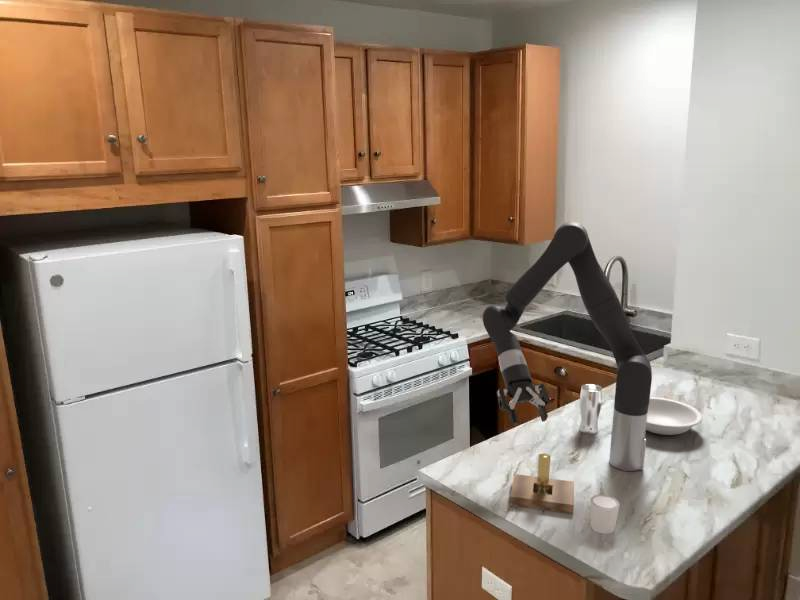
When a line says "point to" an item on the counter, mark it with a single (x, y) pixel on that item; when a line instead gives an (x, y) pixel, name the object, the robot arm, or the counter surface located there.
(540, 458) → the peg
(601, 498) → the shot glass
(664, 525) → the counter surface
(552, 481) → the block
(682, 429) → the soup bowl
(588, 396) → the beer glass
